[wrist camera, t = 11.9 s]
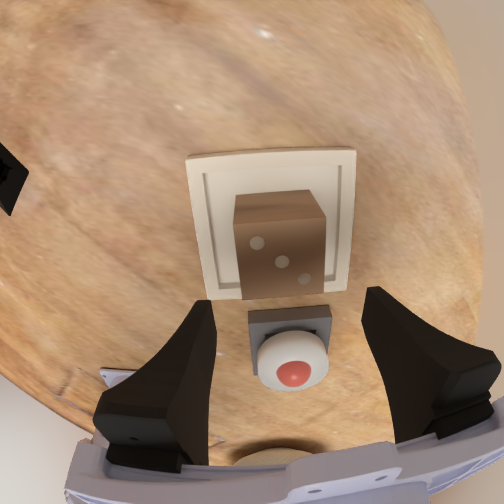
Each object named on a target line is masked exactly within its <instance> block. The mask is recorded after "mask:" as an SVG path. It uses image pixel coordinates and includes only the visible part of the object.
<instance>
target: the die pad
mask: <svg viewBox="0 0 504 504" xmlns="http://www.w3.org/2000/svg"><path fill="white" fill-rule="evenodd" d="M185 163H186V171H187V178H188V185H189V192H190V199H191V205H192V212H193V218H194V225H195V231H196V237H197V243H198V249H199V255H200V260H201V266H202V272H203V277H204V282H205V288H206V293H207V298H208V300H224V299H242V294H241V287H240V279H239V271H238V263H237V255H236V247H235V239H234V231H233V217H234V207H235V198H236V195H241V194H252V193H264V192H277V191H292V190H308V189H309V190H310V191H311V193H312V195H313V196H314V198H315V199H316V201H317V203H318V204H319V206H320V208H321V209H322V211H323V213H324V214H325V216H326V253H325V276H324V292H333V291H343V290H346V289H347V280H348V272H349V262H350V252H351V242H352V230H353V216H354V200H355V179H356V150H354V149H353V148H351V147H297V148H273V149H256V150H242V151H230V152H219V153H209V154H200V155H191V156H188V157H187V158H186V159H185Z"/></svg>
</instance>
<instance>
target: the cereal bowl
mask: <svg viewBox="0 0 504 504" xmlns="http://www.w3.org/2000/svg"><path fill="white" fill-rule="evenodd" d="M307 455H312V453H309V452H305V451H299V450H294V449H290V448H270V449H265V450H261V451H258V452H256V453H254V454H251V455H248V456H245V457H243V458H241V459H239V460H238V461H236V462H235V463H234V464H233V465H232V466H259V465H276V464H288V463H290V462H292V461H293V460H295V459H298V458H300V457H303V456H307Z"/></svg>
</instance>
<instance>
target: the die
mask: <svg viewBox="0 0 504 504" xmlns="http://www.w3.org/2000/svg"><path fill="white" fill-rule="evenodd" d="M233 231H234V239H235V247H236V255H237V263H238V271H239V279H240V287H241V294H242V300H251V299H264V298H276V297H287V296H298V295H309V294H319V293H324V276H325V253H326V216H325V214H324V213H323V211H322V209H321V208H320V206H319V204H318V203H317V201H316V199H315V198H314V196H313V195H312V193H311V191H310V190H309V189H308V190H292V191H277V192H264V193H252V194H241V195H236V198H235V207H234V217H233Z"/></svg>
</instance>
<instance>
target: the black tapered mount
mask: <svg viewBox="0 0 504 504" xmlns="http://www.w3.org/2000/svg"><path fill="white" fill-rule="evenodd" d="M28 174H29V171H28V170H27V169H26V168H25V167H24V166H23V165H22V164H21V163H20V162H19V161H18V160H17V159H16V158H15V157H14V156H13V155H12V154H11V153H10V152H9V151H8V150H7V149H6V148H5V147H4V146H3V145H2V144H1V143H0V207H1V208H2V209H3V210H4V211H5V212H6V213H7V214H8V215H9V216H11V213H12V211H13V208H14V206H15V203H16V201H17V198H18V196H19V194H20V191H21V189H22V187H23V185H24V182H25V180H26V178H27V176H28Z"/></svg>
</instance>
